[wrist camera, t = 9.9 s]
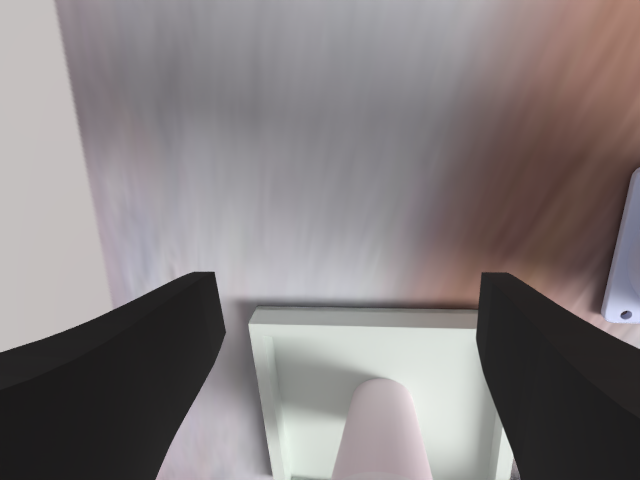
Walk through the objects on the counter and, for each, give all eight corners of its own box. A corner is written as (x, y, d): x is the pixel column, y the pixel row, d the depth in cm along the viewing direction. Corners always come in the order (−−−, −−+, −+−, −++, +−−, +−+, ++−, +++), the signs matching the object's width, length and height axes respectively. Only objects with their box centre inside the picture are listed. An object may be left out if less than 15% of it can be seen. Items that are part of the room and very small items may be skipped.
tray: (521, 310, 22) (533, 330, 20) (495, 496, 28) (502, 524, 26) (257, 306, 24) (248, 323, 23) (283, 479, 30) (277, 503, 28)
